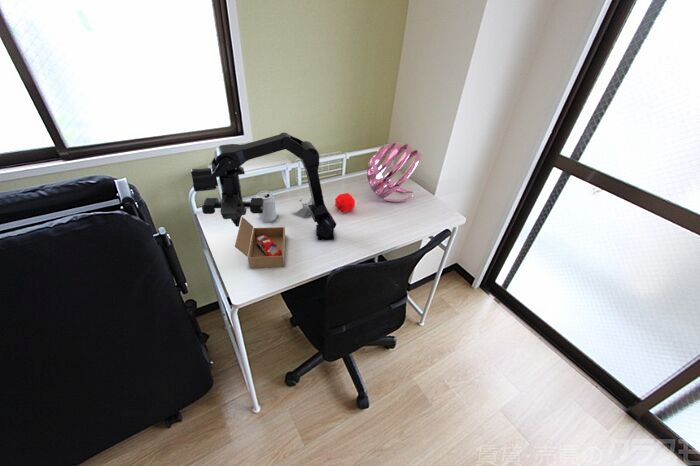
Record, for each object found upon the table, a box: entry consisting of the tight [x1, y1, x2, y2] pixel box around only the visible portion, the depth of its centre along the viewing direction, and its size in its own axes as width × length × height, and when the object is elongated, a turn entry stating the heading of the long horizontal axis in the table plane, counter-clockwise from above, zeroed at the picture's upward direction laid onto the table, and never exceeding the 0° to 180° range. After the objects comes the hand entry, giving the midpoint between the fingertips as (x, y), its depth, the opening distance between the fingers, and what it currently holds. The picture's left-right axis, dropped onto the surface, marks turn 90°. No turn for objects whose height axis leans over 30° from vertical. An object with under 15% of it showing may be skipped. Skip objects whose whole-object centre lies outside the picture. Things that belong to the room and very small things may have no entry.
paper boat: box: [294, 196, 312, 218], centre depth 134 cm, size 12×6×9 cm
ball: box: [334, 192, 356, 214], centre depth 137 cm, size 8×8×8 cm
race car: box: [256, 235, 282, 256], centre depth 113 cm, size 13×5×4 cm, turn 39°
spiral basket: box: [366, 141, 422, 203], centre depth 145 cm, size 28×28×27 cm
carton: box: [247, 226, 286, 269], centre depth 113 cm, size 17×12×5 cm
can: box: [255, 190, 277, 223], centre depth 127 cm, size 8×8×12 cm
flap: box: [234, 216, 254, 257], centre depth 109 cm, size 17×6×1 cm
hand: (237, 226), depth 105 cm, fingers closed
